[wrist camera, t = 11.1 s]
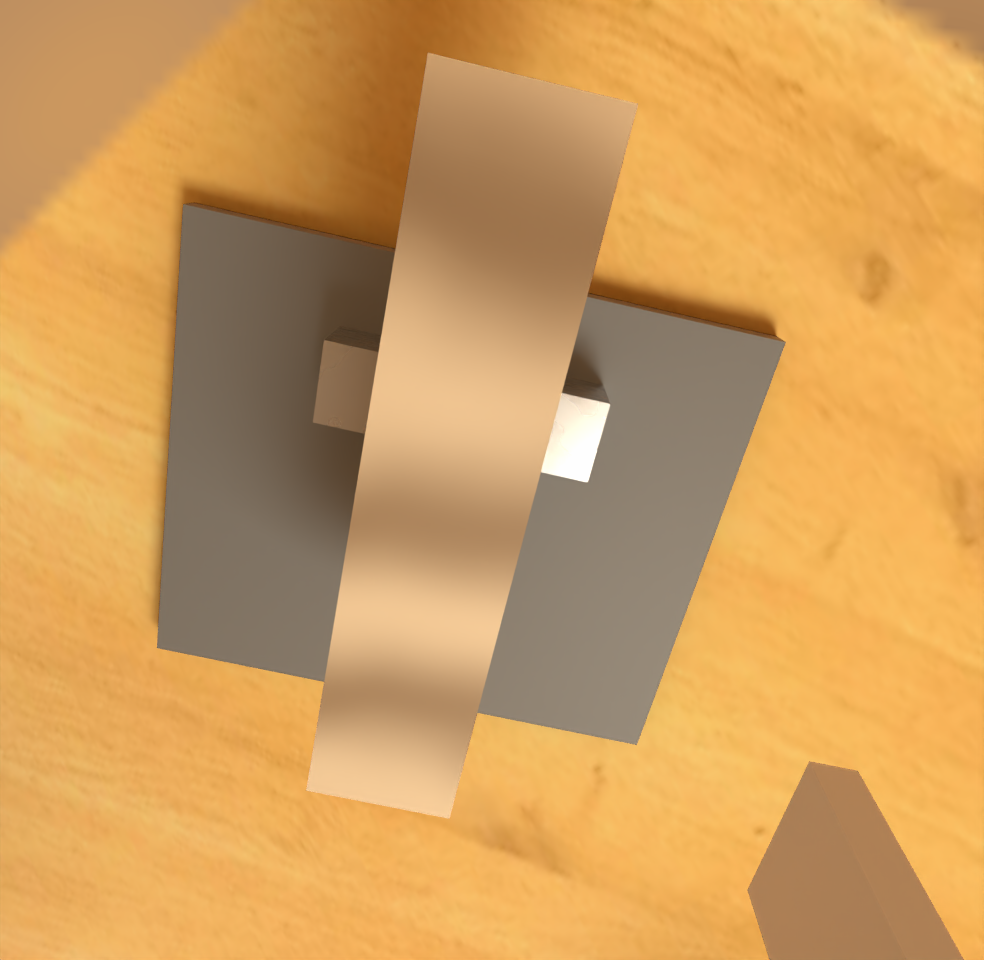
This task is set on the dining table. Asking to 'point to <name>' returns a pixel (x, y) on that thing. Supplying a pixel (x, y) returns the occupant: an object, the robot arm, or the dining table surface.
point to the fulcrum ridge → (352, 382)
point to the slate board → (336, 461)
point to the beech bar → (460, 417)
